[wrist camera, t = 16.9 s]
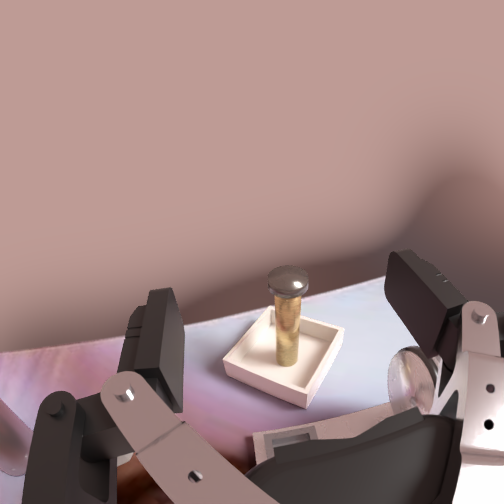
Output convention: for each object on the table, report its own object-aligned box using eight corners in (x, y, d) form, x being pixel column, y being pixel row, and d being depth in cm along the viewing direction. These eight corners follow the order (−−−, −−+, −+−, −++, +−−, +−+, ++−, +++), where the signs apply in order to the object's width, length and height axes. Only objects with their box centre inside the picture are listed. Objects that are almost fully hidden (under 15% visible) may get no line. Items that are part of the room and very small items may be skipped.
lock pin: (264, 363, 40) (260, 282, 33) (280, 342, 43) (279, 261, 36) (294, 375, 38) (297, 294, 31) (308, 352, 41) (314, 271, 34)
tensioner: (262, 503, 24) (247, 464, 17) (252, 431, 32) (236, 361, 25) (435, 453, 25) (489, 387, 18) (407, 394, 33) (439, 316, 26)
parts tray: (226, 375, 40) (222, 359, 38) (270, 322, 49) (269, 305, 47) (306, 409, 34) (307, 394, 32) (342, 345, 42) (344, 328, 41)
